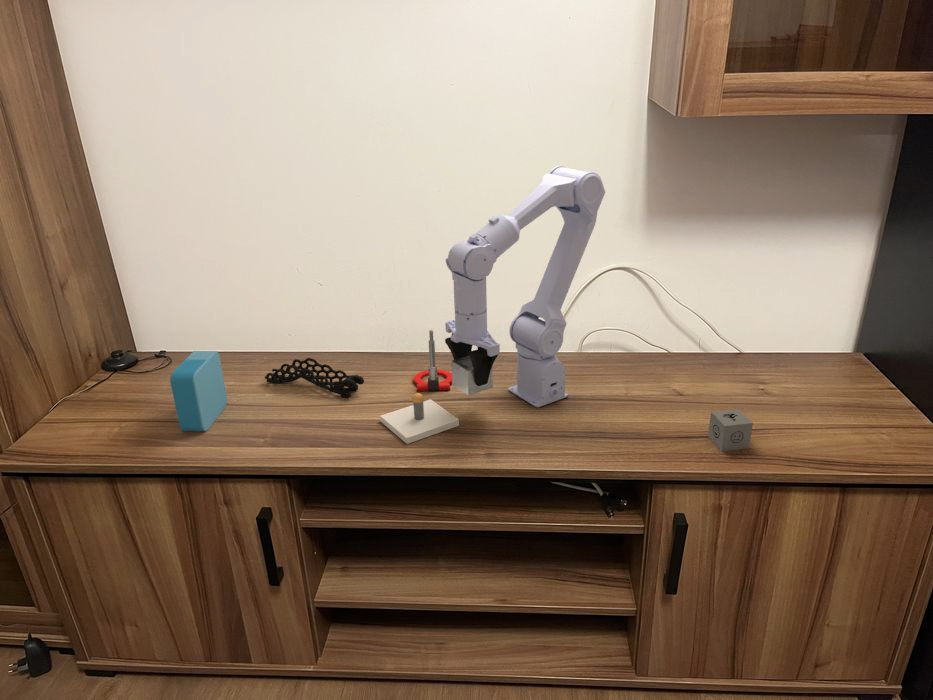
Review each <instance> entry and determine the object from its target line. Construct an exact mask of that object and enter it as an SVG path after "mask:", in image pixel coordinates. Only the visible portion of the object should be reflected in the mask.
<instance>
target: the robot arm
mask: <svg viewBox="0 0 933 700" xmlns="http://www.w3.org/2000/svg"><path fill="white" fill-rule="evenodd" d="M605 194H606V190H605V187H604V183H603V180H602V178H601V176H600V175H599V174H598V173H596V172H594V171H585V170H579V169H574V168H569V167H566V166H562V165H557V166H554V167H552V168H551V169H550V170H549V171H548V173H546V174H544V175H542V176H541V180H540V184H539V185H538V186H537V187H536V188H535V189H534V190H532V192H530V194H528V195H527V196H526V197H525V198H524V199H523V200H522V201H521V202H520V203H519V204H517V206H516V207H515V208H514V209H513V210H511V211H510V213H508V214H507V215H505V214H498V215H496V216H495V215H492V216H491V217H490V218H489V219H488V222H487V223H486V224H485V225H483V227H481V228H480V229H479V230H478V231H477V232H475V233H472V234H471V235H470V236H469V237H468V239H467V241H465V240H463V241H457V243H455V244H454V245H453V246H452V247H451V248H450V250H449V252H448V256H447V258H445V263H446V267H447V268H448V270H449V271H450V272H451V276H452V277H451V278H452V280H453V305H454V319H452V320H447V321H445V323H444V325H445V332H446V333H448V334H451V335H450V337H446V338H445V340H444V342H445V344H446V346H447V347H448V349H449V351H450V353H451V355H452V358H453V360H456V359H459V358H462V357H465V356H469V357H470V359H471V362H472V365H473V369H474V376H475V382H476V385H477V386H482V385H485V384H487V383H488V379H489V375H490V371H491V368H492V369H493V366H494V364H495V363H494V362H495V361H496V359H497V358H498V357H499V355H500V353H501V352H500V351H501V350H500V349H501V347H500V343H499V342H497V341H496V340H495V339H494V338H493V336H492V334H491V333H490V332H489V330H488V307H487V298H488V297H487V277H488V276H490V273H492V269H493V267H494V264H495V263H496V262H497V259H498V258H499V257H501V256H502V255H503V254H504V253H505V252H506V251H507V250H509V249H510V248H511V247H512V246H514V245H515V244H516V243H517V242H518V241H519V240H520V234H521V230H522V229H524V228H526V227H528V225H529V224H531V223H532V222H533V221H535V220H536V219H538V218H539V217H541V216H542V215H543V214H544V213H546V212H547V211H548V210H550V209H552V208H553V207H554V208H556V209H557V210H558V211H559V213H560V214H561V216H562V220H563V226H562V229H561V230H560V234H559V235H558V238H557V241H556V244H555V246H554V249H553V251H552V253H551V255H550V258H549V260H548V263H547V264H546V265H547V266H546V268H545V271H544V273H543V276H542V278H541V280H540V282H539V286H538V288H537V291H536V293H535V296H534V298H533V299H532V300H530V301H529V302H526V303H525V304H523V305H522V306H521V308H520V311H519V312H518V313H517V315H516V316H515V317H514V318H513V320H512V321H511V324H510V327H509V336H510V339H511V340H512V341H513V342H514V343H515V349H516V350H517V352H516V353H517V358H516V361H517V363H516V364H517V365H516V367H517V368H516V371H517V374H516V384H515V385H512V386H509V387H508V388H507V389H508V391H509V392H510V393H512V394H514V395H515V396H517V397H518V398H520V399H522V400H523V401H525V402H527V403H528V404H530V405H532V406H533V407H535V408H540V407H542V406H545V405H548V404H552V403H553V402H557V401H560V400H562V399H565V398H567V397H569V395H568V394H569V393H567V392H566V390H565V389H566V367H565V365H564V363H563V362H562V361H560V360H559V359H558V357H557V356H556V355H558V354H557V353H558V352H559V351H560V350H561V348H562V346H563V342H564V333H565V329H566V328H567V327H566V326H567V321H566V319H565V317H564V315H563V312H562V307H563V305H564V302H565V300H566V297H567V294H568V293H569V289H570V288H571V285H572V282H573V280H574V278H575V275H576V273H577V271H578V268H579V265H580V263H581V261H582V258H583V255H584V253H585V251H586V248H587V246H588V243H589V241H590V238H591V236H592V234H593V231H594V228H595V226H596V222H597V216H598V211H599V210H600V207H601V204H602V202H603V199H604V196H605ZM540 318H541V319H540ZM542 319H543V320H542ZM473 346H474V347H475V346H476V347H477V349H474V350H472V349H473Z"/></svg>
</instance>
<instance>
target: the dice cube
mask: <svg viewBox="0 0 933 700" xmlns="http://www.w3.org/2000/svg"><path fill="white" fill-rule="evenodd" d="M753 424H754V423H753V422H752V421H751V420H750V419H749V418H748V417H747V416H746V415H745V414H744V413H743V412H742V411H741V410H740V409H739V408H737V409H725V410H718V411H717V410H716V411H710V416H709V425H708V431H707V432H708V434H707V437H708V439H709V440H711V441H712V443H713V444H714V445H715V446H716V447H717V448H718V449H719V451H720V452H727V451H729V452H730V451H738V450H746V449H747V450H748V449H749V448H750V444H751V438H752V437H751V436H752V430H753Z"/></svg>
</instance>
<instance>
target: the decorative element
mask: <svg viewBox="0 0 933 700" xmlns="http://www.w3.org/2000/svg"><path fill="white" fill-rule="evenodd" d="M309 361H310V362H312V363H314V364H311V363H309ZM296 363H298V366H297V365H296ZM303 364H305V365H306V366H305V367H303ZM285 367H286V369H284V368H285ZM316 367H318V368H320V369H319V370H317V369H316ZM309 368H311V369H309ZM325 368H327V369H328V370H326V369H325ZM291 369H293V370H294V371H291ZM271 371H272V372H268V373H266V375H265V376H264V379H265V380H266V383H269V384H273V385H274V384H276V385H278V384H282V385H283V384H287V383H292V382H296V381H297V380H299V379H303V380H305V381H307V382H309V383H311V384H313V385H315V386H316V387H318V388H322V389H325V390H327V391H329V392H330V393H333V394H337V395H340V397H341V398H343V399H348V400H349V398H350V397H352V392H354V393H356V392H357V391H358V389H359V385H363V384H364V382H365V380H364V377H363V376H360V375H358V374H352V375H348V374H346V372H345V371H343V370H341V369H338V370H334V369H333V368H332V367H331V366H330V365H328V364H326V363H325V364H321V363H319V362H318V361H317V360H316V359H314V358H311V357H307V358H305V359H304V360H300V359H297V358H296V359H294V360H293V361H292V364H289V363H283V364H282V365H281V366H280V368H272V369H271ZM279 373H280V374H279ZM323 373H324V374H325V375H320V374H323ZM331 373H332V374H334V375H333V376H330V374H331ZM315 374H316V375H315ZM338 374H341V375H338ZM286 375H288V376H286ZM335 379H338V380H336V381H333V380H335Z"/></svg>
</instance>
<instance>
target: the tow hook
mask: <svg viewBox="0 0 933 700" xmlns="http://www.w3.org/2000/svg"><path fill="white" fill-rule="evenodd" d="M428 335H429V336H428V338H429V340H428V356H429V357H428V358H429V366H428V370H427V369H426V370H422V371H420V372H417V373H416V374H414V376H413V384H414V385H416V391H417V392H427V391H428V392H439V391H451V385H452V372H451V371H448V370H443V369H438V367H437V366H436V342H435V341H436V340H434V330H432V329H431V330H429V331H428ZM438 376H441V377H443V378H445V379H444V380H442V381H439V380H440V379H439V377H438ZM426 377H427V381H424V380H423V378H426Z"/></svg>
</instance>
